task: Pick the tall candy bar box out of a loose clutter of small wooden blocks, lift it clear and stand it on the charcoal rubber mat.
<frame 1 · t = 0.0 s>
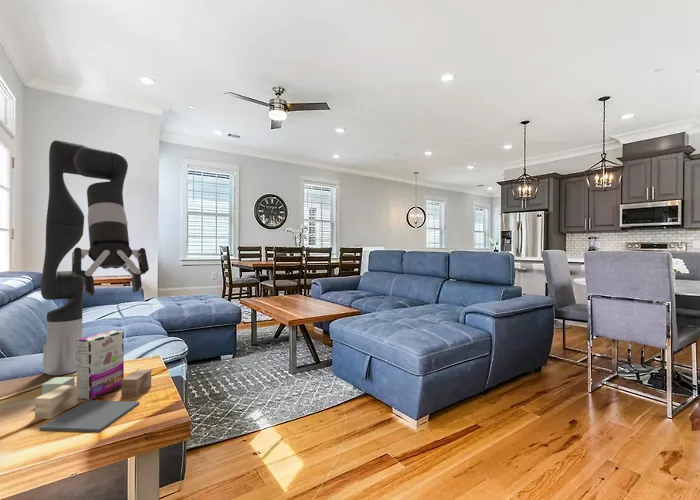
hand: (114, 293, 78), 31 cm above the table, tool tilted 20°, fingers open, 8 cm apart
sage cube: (58, 398, 95), on the table
beech block: (57, 411, 88), on the table
candy bar box: (100, 392, 100), on the table
mat: (93, 415, 85), on the table
walnut block: (136, 391, 100), on the table
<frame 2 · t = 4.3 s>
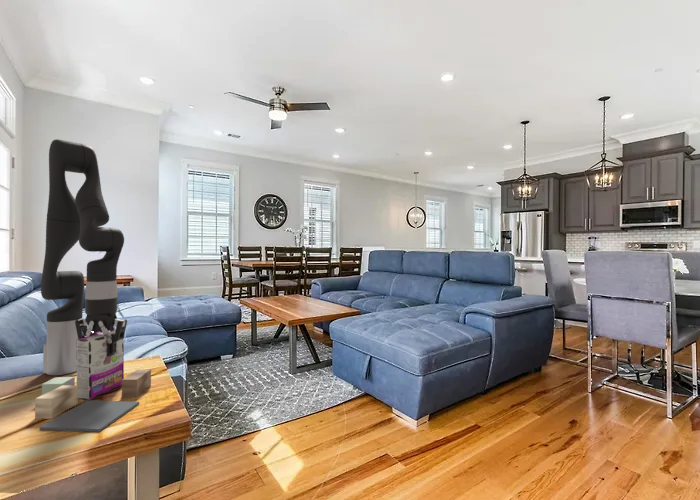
hand: (101, 355, 100), 10 cm above the table, tool pointing down, fingers closed on candy bar box, 5 cm apart
candy bar box: (100, 392, 100), on the table, touching gripper
everything else where it was.
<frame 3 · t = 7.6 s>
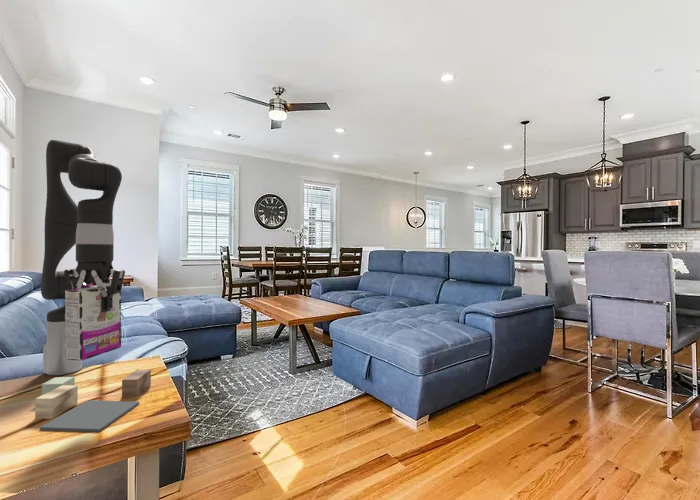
hand: (94, 311, 85), 26 cm above the table, tool pointing down, fingers closed on candy bar box, 5 cm apart
candy bar box: (94, 354, 86), point 15 cm above the table, touching gripper
everything else where it was.
when the fingers open (12 cm above the table, at t = 10.5 s): candy bar box stays where it is, resting on mat.
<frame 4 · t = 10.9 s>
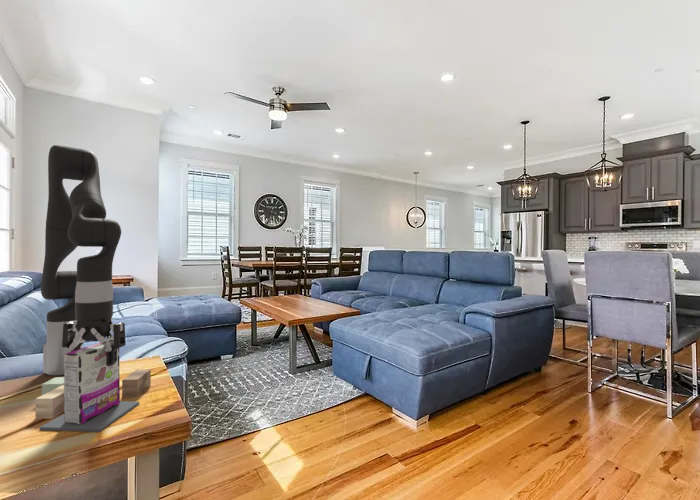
hand: (93, 364, 85), 13 cm above the table, tool pointing down, fingers open, 8 cm apart
candy bar box: (92, 414, 86), resting on mat
everything else where it was.
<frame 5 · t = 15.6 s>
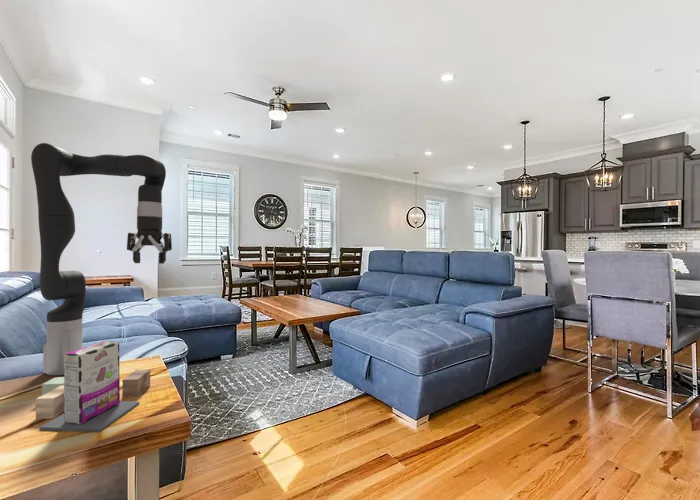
hand: (149, 263, 119), 36 cm above the table, tool pointing down, fingers open, 8 cm apart
nothing on the table moved.
at the end: candy bar box inside the target area on the mat (0.2 cm from its centre), point 0.4 cm above the mat's base; candy bar box tilted 0°; the gripper is holding nothing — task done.
